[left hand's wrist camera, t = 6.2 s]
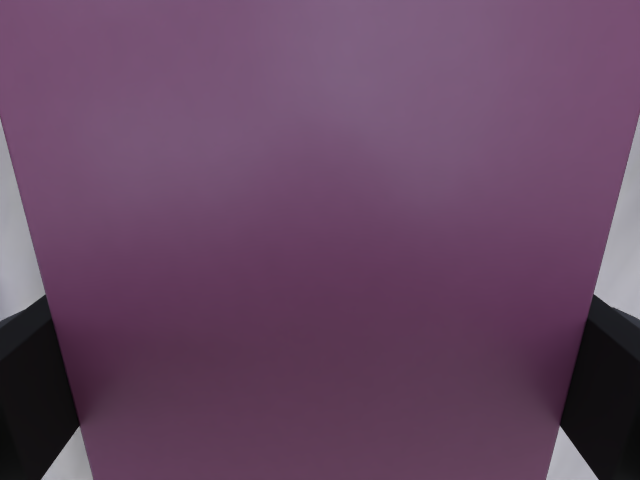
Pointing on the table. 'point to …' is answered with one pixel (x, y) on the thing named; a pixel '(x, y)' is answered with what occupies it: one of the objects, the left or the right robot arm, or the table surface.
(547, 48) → the cabinet
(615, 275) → the table surface
